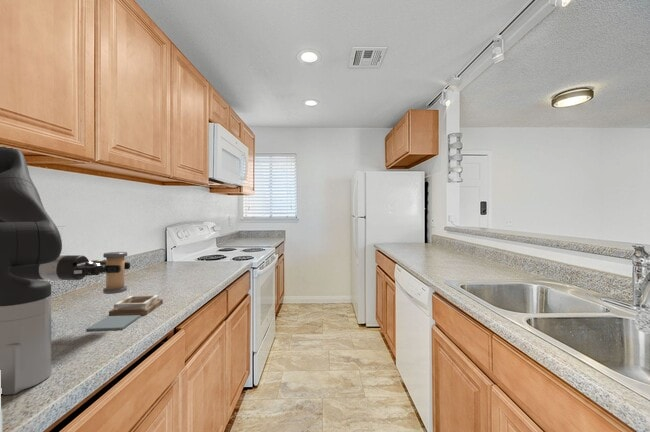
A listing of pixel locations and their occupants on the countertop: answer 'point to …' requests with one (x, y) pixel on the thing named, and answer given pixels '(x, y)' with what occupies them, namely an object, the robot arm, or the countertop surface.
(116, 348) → the countertop surface
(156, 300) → the square wooden tray
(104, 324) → the slate mat
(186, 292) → the countertop surface
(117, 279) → the cable spool
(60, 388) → the countertop surface
